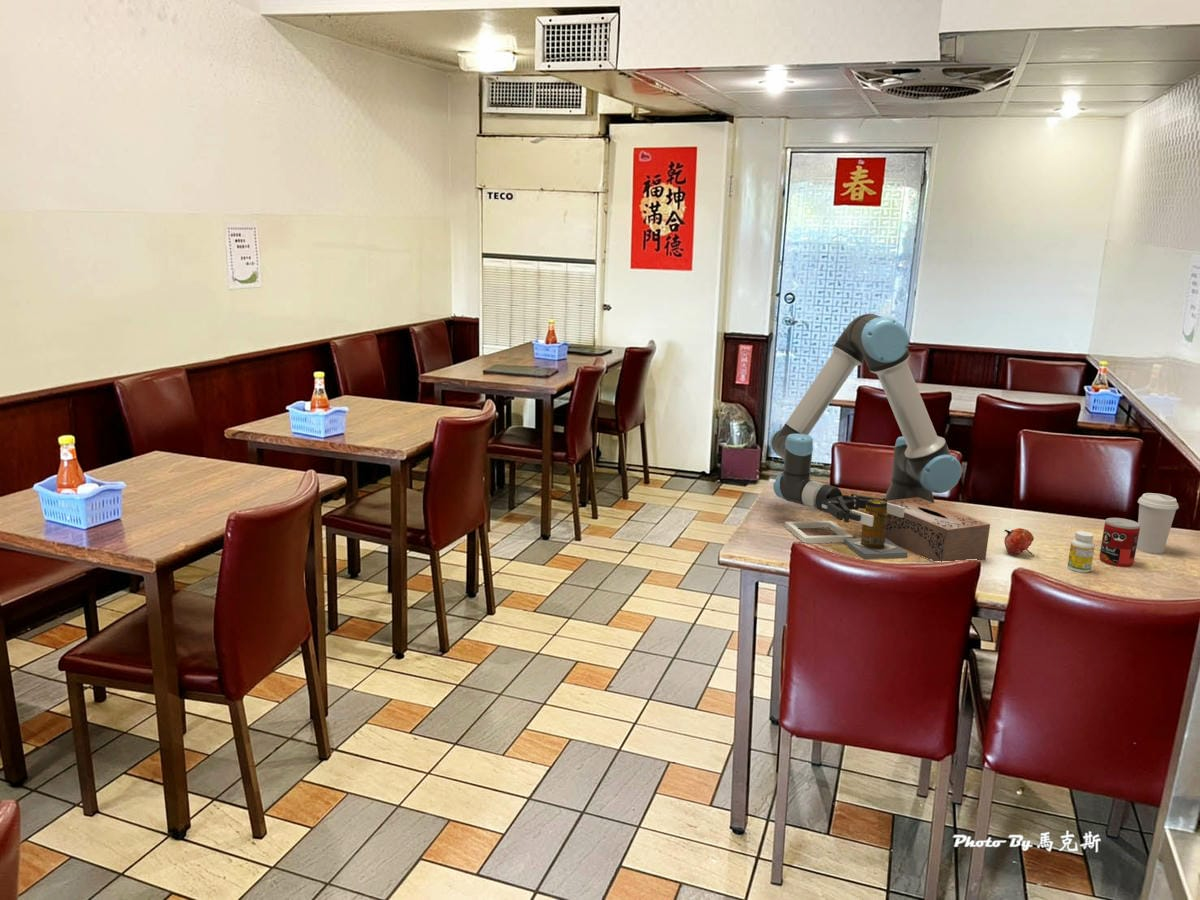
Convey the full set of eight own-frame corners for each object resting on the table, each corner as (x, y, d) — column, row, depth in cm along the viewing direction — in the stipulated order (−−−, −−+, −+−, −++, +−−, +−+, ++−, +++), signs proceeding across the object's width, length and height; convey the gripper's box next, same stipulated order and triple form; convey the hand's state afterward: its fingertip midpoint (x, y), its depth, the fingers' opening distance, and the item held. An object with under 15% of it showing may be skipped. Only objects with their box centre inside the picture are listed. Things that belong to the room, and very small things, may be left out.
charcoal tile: (884, 542, 246) (885, 537, 246) (906, 557, 235) (907, 552, 235) (843, 543, 244) (844, 538, 244) (863, 559, 233) (864, 554, 232)
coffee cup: (1170, 558, 241) (1180, 504, 238) (1128, 550, 246) (1138, 497, 243) (1170, 548, 249) (1180, 496, 246) (1130, 541, 254) (1139, 490, 251)
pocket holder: (831, 525, 259) (831, 520, 259) (852, 542, 246) (853, 536, 245) (784, 527, 257) (785, 521, 256) (803, 543, 243) (804, 537, 243)
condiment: (869, 538, 245) (873, 496, 242) (896, 547, 238) (901, 504, 235) (853, 543, 240) (857, 500, 237) (880, 552, 234) (885, 508, 231)
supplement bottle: (1089, 574, 227) (1095, 538, 225) (1066, 570, 230) (1071, 534, 228) (1091, 568, 232) (1097, 532, 229) (1068, 563, 234) (1073, 528, 232)
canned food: (1092, 556, 240) (1099, 517, 238) (1120, 556, 241) (1127, 517, 238) (1110, 567, 233) (1117, 526, 230) (1139, 567, 234) (1147, 526, 231)
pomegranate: (1026, 558, 244) (997, 532, 246) (1047, 542, 240) (1017, 515, 242) (1022, 569, 238) (992, 542, 240) (1043, 553, 234) (1013, 525, 236)
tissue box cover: (874, 536, 252) (878, 501, 250) (914, 530, 258) (918, 497, 256) (943, 567, 230) (947, 530, 227) (985, 560, 235) (990, 524, 233)
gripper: (849, 503, 260) (914, 522, 243) (792, 517, 244) (857, 539, 228) (851, 478, 258) (917, 495, 242) (794, 490, 243) (860, 510, 227)
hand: (888, 517), depth 235 cm, fingers open, 13 cm apart
